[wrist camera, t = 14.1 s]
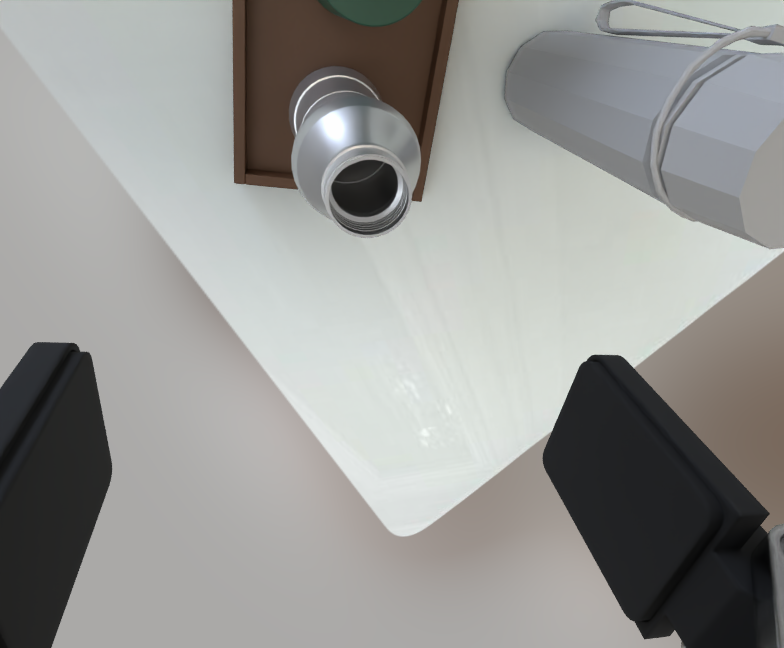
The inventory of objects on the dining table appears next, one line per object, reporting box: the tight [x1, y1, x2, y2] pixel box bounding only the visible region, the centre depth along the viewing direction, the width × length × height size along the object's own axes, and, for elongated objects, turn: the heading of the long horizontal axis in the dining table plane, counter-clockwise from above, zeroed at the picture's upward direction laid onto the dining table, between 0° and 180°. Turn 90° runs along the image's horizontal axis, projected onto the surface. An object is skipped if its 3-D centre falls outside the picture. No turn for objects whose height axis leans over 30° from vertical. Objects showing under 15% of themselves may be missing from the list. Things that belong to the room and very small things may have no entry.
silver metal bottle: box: [289, 66, 421, 238], centre depth 30 cm, size 6×7×20 cm
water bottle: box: [504, 0, 784, 249], centre depth 29 cm, size 9×8×25 cm
